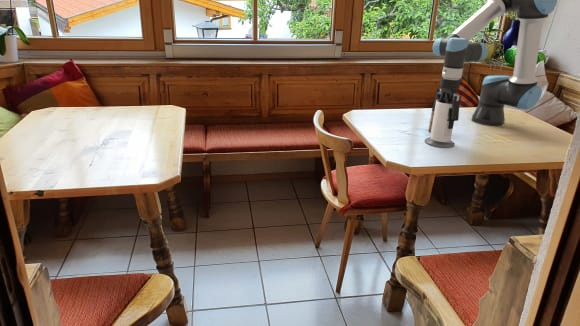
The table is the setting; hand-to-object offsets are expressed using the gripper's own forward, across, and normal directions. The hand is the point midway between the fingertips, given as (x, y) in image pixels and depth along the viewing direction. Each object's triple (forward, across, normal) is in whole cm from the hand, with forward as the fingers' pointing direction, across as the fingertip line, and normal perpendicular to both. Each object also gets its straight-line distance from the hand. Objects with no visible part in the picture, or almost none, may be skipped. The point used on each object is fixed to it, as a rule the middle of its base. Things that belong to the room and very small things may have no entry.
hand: (441, 132), depth 179 cm
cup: (+3, 0, 0) cm, 3 cm away
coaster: (+5, 0, 0) cm, 5 cm away
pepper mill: (+5, -15, +6) cm, 17 cm away
